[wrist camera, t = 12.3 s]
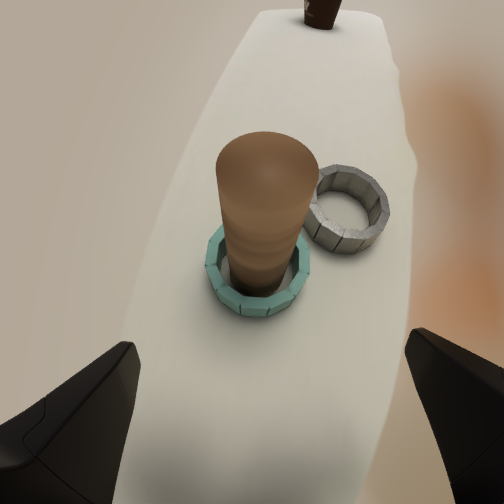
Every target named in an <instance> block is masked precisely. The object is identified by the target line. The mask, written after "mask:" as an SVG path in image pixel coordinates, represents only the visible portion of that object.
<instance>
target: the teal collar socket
mask: <svg viewBox="0 0 504 504" xmlns="http://www.w3.org/2000/svg"><path fill="white" fill-rule="evenodd" d="M226 253H227V248H226V242H225V235H224V228H223V224H222V225H221V226H220V227H219V229H218V230H217V231H216V232H215V233H214V235H213V236H212V237H211V238H210V239H209V241H208V247H207V254H206V261H205V268H206V270H207V273H208V276H209V278H210V281H211V283H212V285H213V288H214V290H215V292H216V294H217V296H218V299H219V300H220V302H222V303H223V304H225V305H226V306H228V307H229V308H231V309H232V310H234V311H235V312H236V313H238V314H239V315H240V314H241V315H243V316H256V317H266V316H267V317H268V316H270V315H272V314H274V313H276V312H278V311H280V310H282V309H284V308H286V307H288V306H289V305H290V304H291V303H292V301H293V300H294V298H295V296H296V295H297V293H298V292H299V290H300V289H301V287H302V286H303V284H304V282H305V281H306V279H307V278H308V276H309V274H310V249H309V246H308V245H307V243H306V241H305V240H304V238H303V236H302V235H301V233H300V234H299V237H298V239H297V242H296V245H295V248H294V250H293V253H292V256H291V258H290V260H291V262H292V263H293V280H292V282H291V283H290V285H289V287H288V288H287V289H285V290H283V291H281V292H278V293H276V294H274V295H272V296H270V297H268V298H261V297H248V296H243V295H241V294H240V293H238V292H237V291H235V290H234V289H232V288H231V287H229V286H228V285H227V284H225V282H224V280H223V278H222V276H221V274H220V269H221V261H222V258H223V257H224V256H225V254H226Z"/></svg>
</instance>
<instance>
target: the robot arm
mask: <svg viewBox="0 0 504 504" xmlns="http://www.w3.org/2000/svg"><path fill="white" fill-rule="evenodd" d="M405 356H406V358H407V362H408V365H409V368H410V371H411V374H412V378H413V380H414V384H415V387H416V390H417V392H418V395H419V397H420V400H421V402H422V405H423V407H424V409H425V412H426V415H427V417H428V420H429V422H430V425H431V428H432V430H433V433H434V436H435V438H436V441H437V444H438V447H439V450H440V453H441V456H442V459H443V462H444V465H445V468H446V471H447V475H448V478H449V481H450V485H451V488H452V492H453V495H454V500H455V503H456V504H504V369H503V368H502V367H499V366H498V365H496V364H494V363H492V362H490V361H488V360H486V359H484V358H482V357H480V356H478V355H476V354H474V353H472V352H470V351H468V350H466V349H464V348H462V347H460V346H458V345H456V344H454V343H452V342H450V341H449V340H446V339H445V338H442V337H441V336H438V335H437V334H435V333H433V332H431V331H429V330H427V329H425V328H416V329H413V330H412V331H411V333H410V335H409V338H408V340H407V343H406V346H405ZM140 368H141V363H140V359H139V356H138V353H137V350H136V346H135V344H134V343H133V342H127V341H121V342H119V343H118V344H117V345H115V346H114V347H112V348H111V349H110V350H108V351H107V352H106V353H104V354H103V355H102V356H100V357H99V358H97V359H96V360H94V361H93V362H92V363H90V364H89V365H88V366H86V367H85V368H83V369H82V370H81V371H79V372H78V373H77V374H75V375H74V376H72V377H71V378H70V379H68V380H67V381H65V382H64V383H63V384H61V385H60V386H59V387H57V388H56V389H54V390H53V391H52V392H50V393H49V394H47V395H46V397H43V398H42V399H41V400H39V401H38V402H36V403H35V404H34V405H32V406H31V407H29V408H28V409H26V410H25V411H23V412H22V413H20V414H19V415H17V416H15V417H13V418H12V419H10V420H8V421H7V422H5V423H3V424H1V425H0V504H112V500H113V495H114V490H115V485H116V480H117V476H118V471H119V467H120V462H121V458H122V453H123V449H124V445H125V441H126V437H127V433H128V429H129V425H130V422H131V418H132V414H133V410H134V405H135V399H136V392H137V386H138V380H139V374H140Z"/></svg>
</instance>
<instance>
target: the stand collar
mask: <svg viewBox="0 0 504 504" xmlns="http://www.w3.org/2000/svg"><path fill="white" fill-rule="evenodd" d="M329 190H335V191H343V192H347V193H348V194H350V195H352V196H353V197H355V198H357V199H358V200H359V201H360V202H361V203H362V205H363V206H364V208H365V209H366V210H367V212H368V216H369V223H370V227H369V228H367V229H365V230H363V231H361V230H352V229H344V228H342V227H341V226H339V225H337V224H336V223H334V222H333V221H331V220H329V219H328V218H327V217H326V216H325V214H324V213H323V211H322V210H321V208H320V207H319V205H318V204H317V195H318V194H321V193H323V192H326V191H329ZM389 216H390V209H389V204H388V199H387V196H386V193H385V192H384V191H383V189H382V188H381V187H380V185H379V184H378V183H377V182H376V180H375V179H373V177H371V176H369V175H368V174H366V173H364V172H363V171H361V170H359V169H358V168H356V169H355V167H350V166H344V165H337V164H336V165H335V164H334V165H331V166H328V167H325V168H322V169H319V179H318V183H317V185H316V188H315V191H314V194H313V197H312V200H311V203H310V206H309V209H308V211H307V214H306V217H305V220H304V223H303V225H304V227H305V229H306V230H307V232H308V233H309V235H310V237H311V238H312V240H313V239H314V242H316V243H318V244H319V245H321V246H323V247H324V248H326V249H327V250H329V251H331V252H332V251H333V253H343V254H355V253H357V252H359V251H361V250H363V249H365V248H367V247H369V246H370V245H371V244H372V243H373V242H374V240H375V239H376V238H377V237H378V236H379V235H380V234H381V232H382V231H383V230H384V228H385V225H386V223H387V221H388V218H389Z"/></svg>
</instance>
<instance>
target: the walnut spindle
mask: <svg viewBox="0 0 504 504" xmlns="http://www.w3.org/2000/svg"><path fill="white" fill-rule="evenodd" d="M216 176H217V184H218V191H219V199H220V206H221V213H222V221H223V228H224V235H225V242H226V248H227V255H228V262H229V269H230V275H231V280H232V282H233V284H234V286H235V287H236V288H237V289H238V290H239V291H240V292H241V293H243V294H245V295H247V296H250V297H264V296H267V295H270V294H271V293H273V292H274V291H276V290H277V289H278V287H279V286H280V284H281V282H282V280H283V277H284V274H285V272H286V269H287V267H288V264H289V261H290V258H291V256H292V253H293V250H294V248H295V245H296V242H297V239H298V237H299V234H300V231H301V228H302V226H303V223H304V220H305V217H306V214H307V211H308V209H309V206H310V203H311V200H312V197H313V194H314V191H315V188H316V185H317V183H318V179H319V168H318V164H317V161H316V159H315V157H314V155H313V154H312V153H311V151H310V150H309V149H308V148H307V147H306V146H305V145H303V144H302V143H301V142H299V141H298V140H296V139H294V138H292V137H289V136H287V135H284V134H280V133H275V132H254V133H249V134H245V135H242V136H240V137H238V138H236V139H234V140H232V141H231V142H230V143H228V144H227V145H226V146H225V147H224V148H223V149H222V151H221V152H220V154H219V156H218V158H217V162H216Z"/></svg>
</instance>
